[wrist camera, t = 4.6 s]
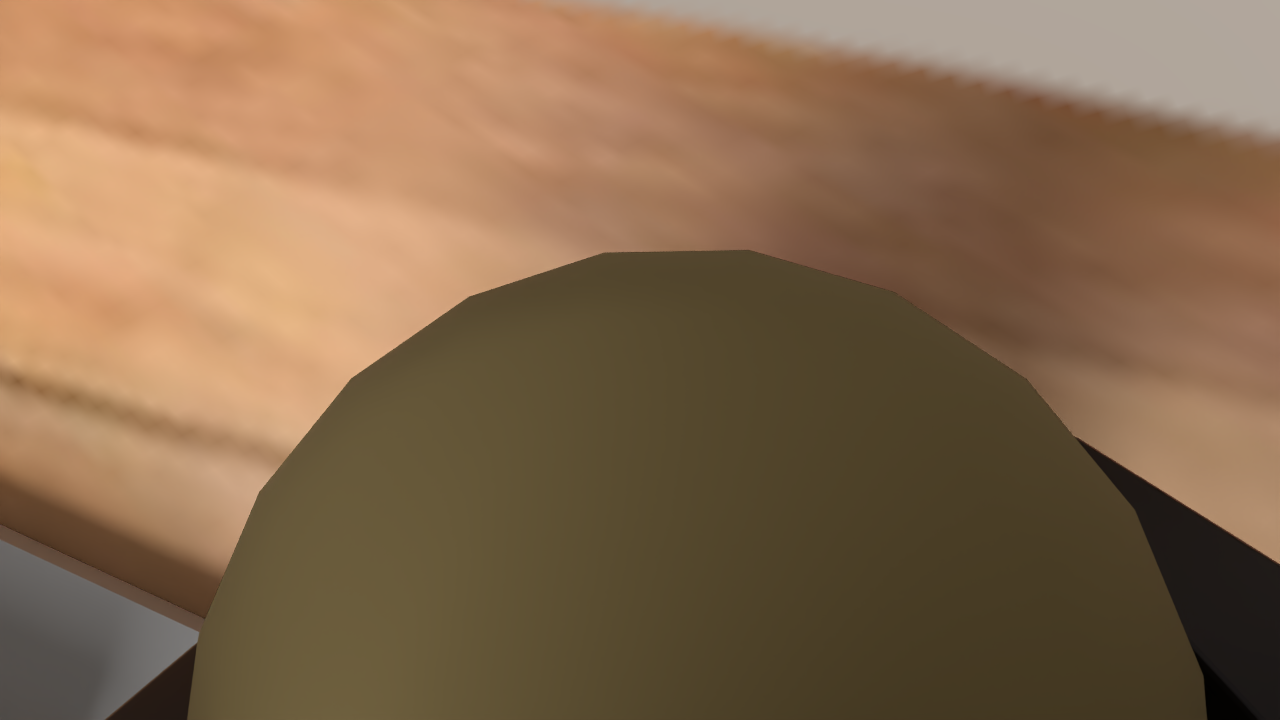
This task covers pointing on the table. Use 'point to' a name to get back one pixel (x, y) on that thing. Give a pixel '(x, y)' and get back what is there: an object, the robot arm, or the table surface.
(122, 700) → the shaker caddy
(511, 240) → the table surface
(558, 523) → the pepper shaker
